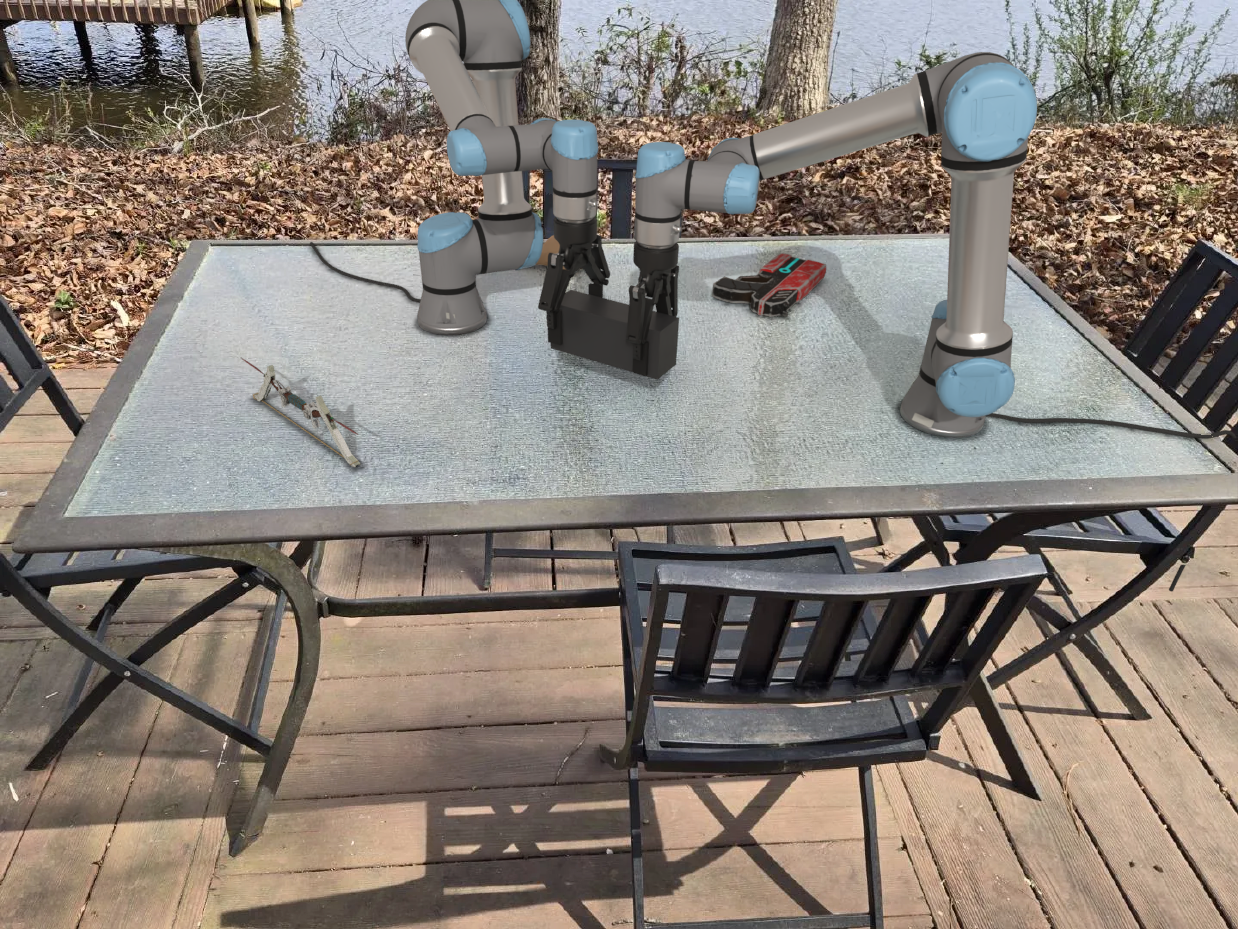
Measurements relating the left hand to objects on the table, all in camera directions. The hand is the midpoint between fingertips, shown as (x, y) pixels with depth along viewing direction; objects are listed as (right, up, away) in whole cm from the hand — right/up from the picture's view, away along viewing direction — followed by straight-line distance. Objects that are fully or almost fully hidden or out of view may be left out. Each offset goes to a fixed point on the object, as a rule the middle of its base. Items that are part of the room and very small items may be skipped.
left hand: (575, 329), depth 163 cm
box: (+7, -5, -1) cm, 9 cm away
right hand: (+14, -7, -5) cm, 16 cm away
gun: (+45, +18, +53) cm, 72 cm away
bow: (-49, -19, -6) cm, 52 cm away
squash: (-8, +26, +63) cm, 69 cm away
